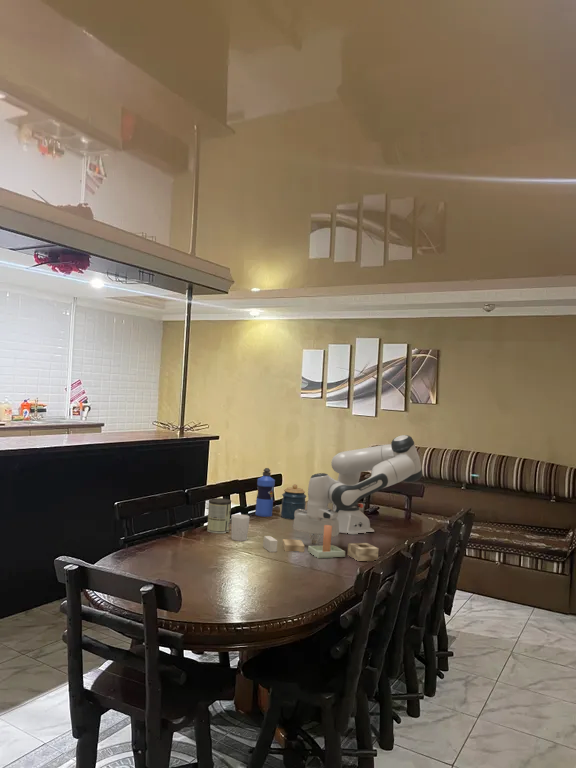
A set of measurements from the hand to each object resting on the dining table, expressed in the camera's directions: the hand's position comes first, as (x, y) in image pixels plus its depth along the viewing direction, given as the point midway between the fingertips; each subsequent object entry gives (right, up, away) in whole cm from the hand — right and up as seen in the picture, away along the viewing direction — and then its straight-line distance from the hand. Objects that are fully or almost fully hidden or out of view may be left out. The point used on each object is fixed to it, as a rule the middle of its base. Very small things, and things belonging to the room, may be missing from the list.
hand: (314, 544), depth 247 cm
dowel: (+4, -1, -10) cm, 11 cm away
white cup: (-33, 0, +6) cm, 33 cm away
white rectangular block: (-19, 0, -8) cm, 20 cm away
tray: (+4, -2, -10) cm, 11 cm away
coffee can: (-44, +1, +19) cm, 47 cm away
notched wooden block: (-9, -1, -4) cm, 10 cm away
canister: (-9, -3, +62) cm, 63 cm away
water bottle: (-24, -2, +64) cm, 68 cm away
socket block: (+19, -3, -12) cm, 22 cm away
